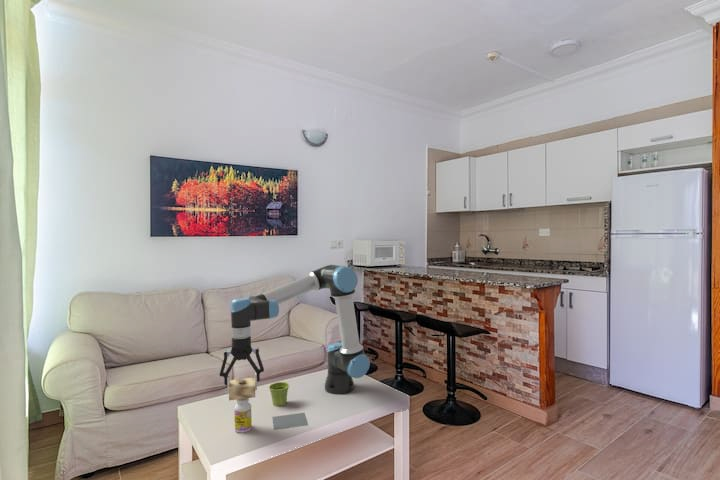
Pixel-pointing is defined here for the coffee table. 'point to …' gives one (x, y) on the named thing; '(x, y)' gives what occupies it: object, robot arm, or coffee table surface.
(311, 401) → the coffee table surface
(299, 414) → the mat
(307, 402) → the coffee table surface
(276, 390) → the plant pot
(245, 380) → the lid
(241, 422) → the supplement bottle
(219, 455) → the coffee table surface
